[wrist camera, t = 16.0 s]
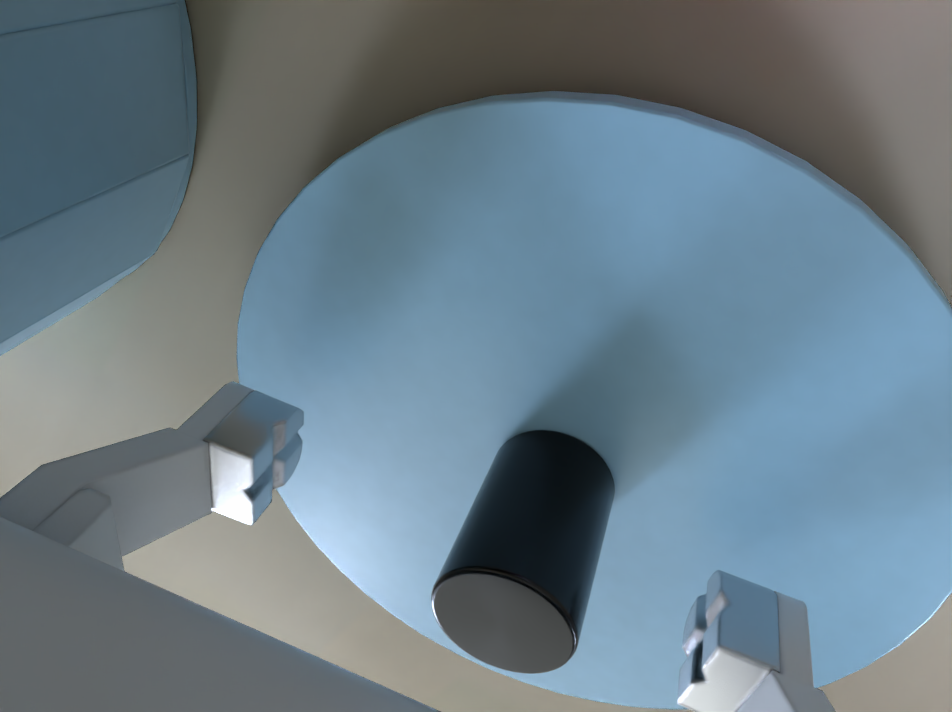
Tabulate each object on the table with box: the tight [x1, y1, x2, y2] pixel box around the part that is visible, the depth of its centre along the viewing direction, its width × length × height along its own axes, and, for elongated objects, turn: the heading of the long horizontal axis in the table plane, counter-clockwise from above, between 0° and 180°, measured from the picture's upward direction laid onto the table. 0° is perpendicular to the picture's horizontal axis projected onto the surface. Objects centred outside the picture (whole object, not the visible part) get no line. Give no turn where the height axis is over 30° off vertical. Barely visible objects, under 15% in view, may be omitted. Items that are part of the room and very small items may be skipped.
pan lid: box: [237, 91, 952, 710], centre depth 13 cm, size 14×14×5 cm
